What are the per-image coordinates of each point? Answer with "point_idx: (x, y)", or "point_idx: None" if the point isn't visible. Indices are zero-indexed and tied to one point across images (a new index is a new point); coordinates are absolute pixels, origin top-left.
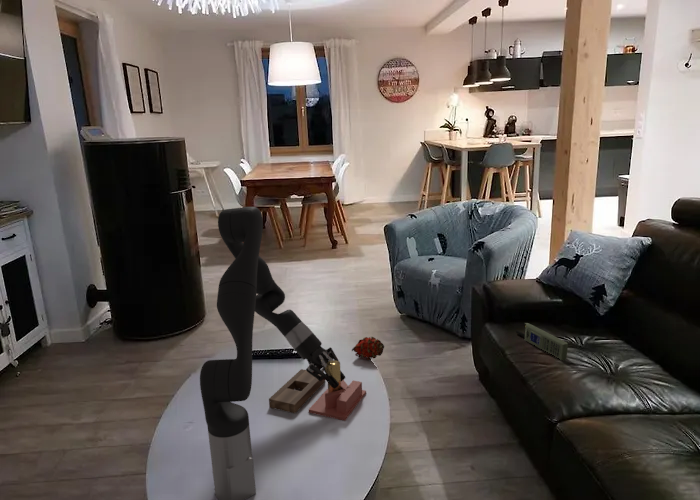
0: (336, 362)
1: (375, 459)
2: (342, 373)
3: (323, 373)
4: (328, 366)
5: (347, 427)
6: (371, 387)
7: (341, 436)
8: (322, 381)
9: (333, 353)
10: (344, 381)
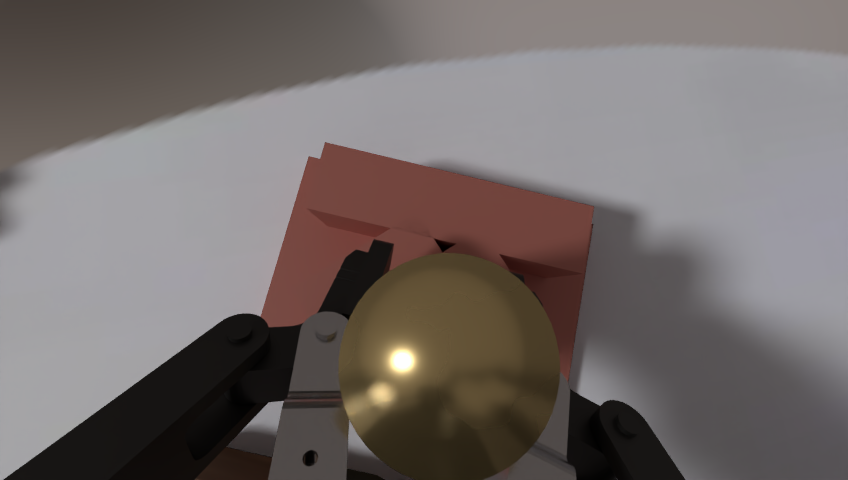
0: (407, 320)
1: (807, 61)
2: (366, 262)
3: (634, 457)
4: (534, 428)
5: (632, 207)
6: (244, 143)
7: (704, 221)
8: (215, 458)
9: (73, 459)
10: (328, 268)
